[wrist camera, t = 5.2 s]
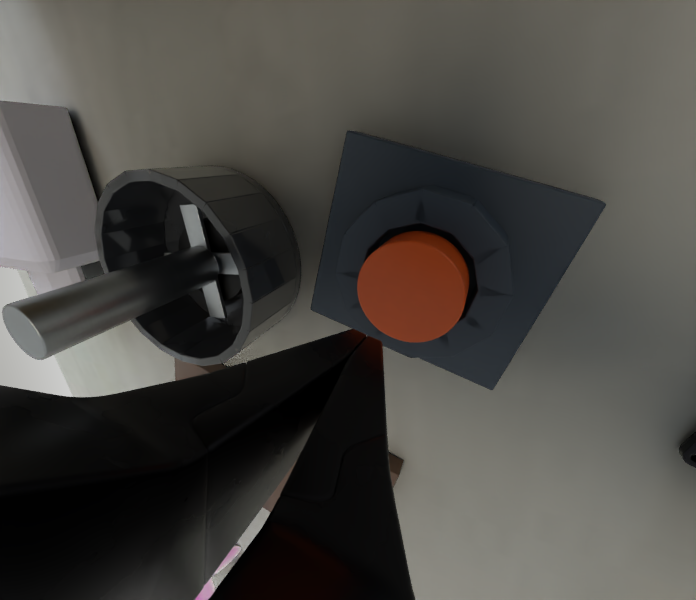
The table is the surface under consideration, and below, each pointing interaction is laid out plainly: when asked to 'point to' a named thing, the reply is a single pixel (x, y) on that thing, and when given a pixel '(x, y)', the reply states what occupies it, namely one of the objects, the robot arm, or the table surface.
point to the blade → (127, 292)
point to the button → (414, 286)
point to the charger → (44, 196)
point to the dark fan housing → (163, 236)
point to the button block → (464, 233)
